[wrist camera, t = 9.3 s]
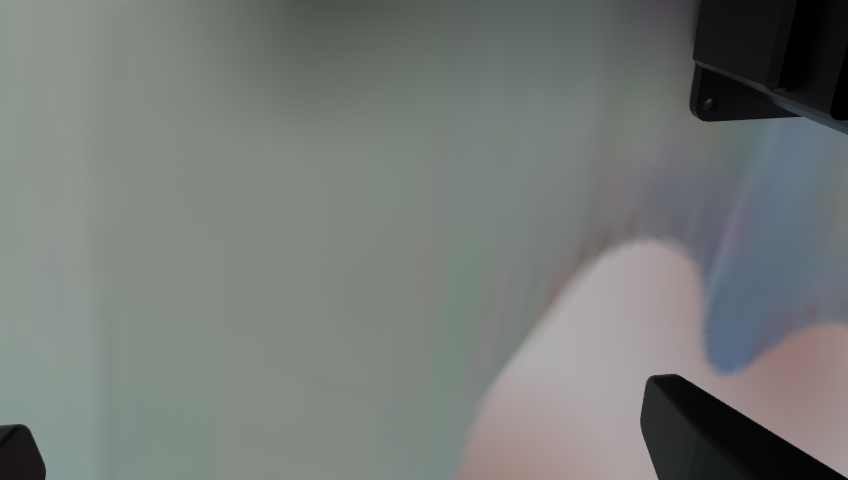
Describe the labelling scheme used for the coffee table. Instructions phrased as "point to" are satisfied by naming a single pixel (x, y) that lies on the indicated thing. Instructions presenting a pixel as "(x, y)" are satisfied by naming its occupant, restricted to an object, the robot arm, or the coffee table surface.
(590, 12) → the coffee table surface
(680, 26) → the coffee table surface
